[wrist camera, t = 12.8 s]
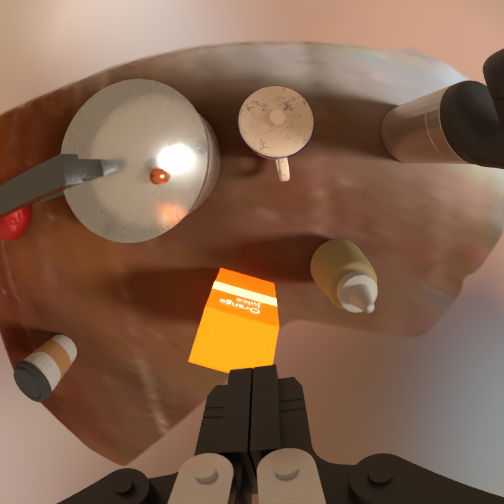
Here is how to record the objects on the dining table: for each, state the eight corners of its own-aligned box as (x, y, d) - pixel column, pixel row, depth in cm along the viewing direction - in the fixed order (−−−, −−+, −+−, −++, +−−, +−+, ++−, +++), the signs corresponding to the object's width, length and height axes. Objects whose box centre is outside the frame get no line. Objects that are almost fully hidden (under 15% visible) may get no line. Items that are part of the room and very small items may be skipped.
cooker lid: (192, 61, 28) (169, 28, 20) (226, 220, 33) (213, 239, 24) (19, 137, 31) (-27, 136, 22) (45, 264, 35) (4, 286, 26)
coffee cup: (64, 323, 52) (23, 362, 37) (88, 356, 53) (53, 400, 39) (45, 336, 53) (5, 372, 38) (67, 366, 55) (33, 407, 40)
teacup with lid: (236, 106, 41) (228, 85, 30) (298, 97, 40) (310, 74, 29) (251, 185, 44) (248, 189, 33) (312, 175, 43) (329, 177, 32)
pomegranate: (44, 221, 46) (12, 232, 37) (17, 245, 48) (-13, 258, 39) (25, 176, 44) (-8, 180, 35) (0, 203, 46) (-31, 211, 37)
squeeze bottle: (365, 260, 47) (415, 308, 29) (327, 292, 48) (357, 354, 31) (336, 222, 45) (379, 253, 28) (295, 256, 47) (315, 306, 29)
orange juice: (220, 266, 47) (194, 330, 28) (275, 282, 48) (283, 354, 29) (208, 310, 49) (181, 388, 30) (260, 324, 50) (259, 408, 31)
